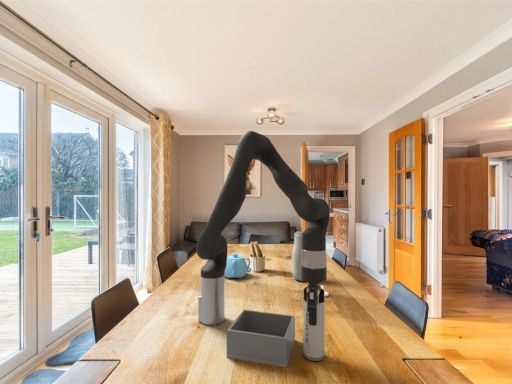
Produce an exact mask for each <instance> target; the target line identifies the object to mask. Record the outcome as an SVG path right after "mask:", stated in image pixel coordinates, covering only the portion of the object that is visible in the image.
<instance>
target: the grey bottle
mask: <svg viewBox="0 0 512 384" xmlns="http://www.w3.org/2000/svg"><path fill="white" fill-rule="evenodd" d="M303 232H304V231H300V230H299V231H296V232H294V234H293V238H294V241H293V245H292V246H293V247H292V250H291V262H292V263H291V264H292V265H291V266H292V268H291V269H292V270H291V271H292V277H293V279H295V280H296V281H299V282H304V281H303V280H302V279H301V255H302V234H303Z"/></svg>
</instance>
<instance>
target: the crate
mask: <svg viewBox="0 0 512 384" xmlns="http://www.w3.org/2000/svg"><path fill="white" fill-rule="evenodd" d="M295 342H296V316H295V315H293V314H292V315H291V314H283V313H282V314H281V313H275V312H266V311H259V310H258V311H257V310H252V309H251V310H249V309H243V310H242V311H241V313H240V314H239V315H238V316H237V318H235V320H234V321H233V322H232V323H231V325H230V326H229V327H228V328H227V329H226V358H229V359H235V360H240V361H246V362H251V363H256V364H263V365H268V366H275V367H279V368H280V367H281V368H287V367H288V364H289V361H290V357H291V353H292V351H293V349H294V344H295Z"/></svg>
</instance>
